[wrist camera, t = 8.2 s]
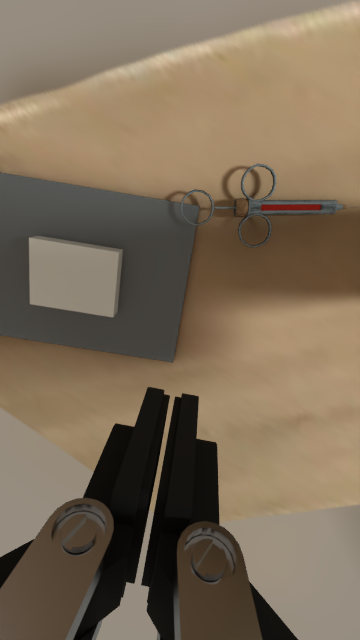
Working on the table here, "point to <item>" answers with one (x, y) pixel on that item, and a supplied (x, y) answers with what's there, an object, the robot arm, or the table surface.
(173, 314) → the mat
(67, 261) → the tile
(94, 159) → the table surface
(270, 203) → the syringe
